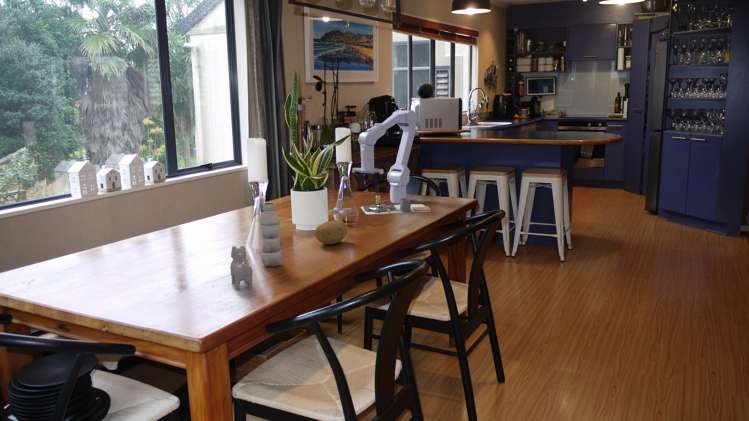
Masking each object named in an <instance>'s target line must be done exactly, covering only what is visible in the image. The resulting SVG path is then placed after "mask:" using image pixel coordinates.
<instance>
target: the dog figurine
mask: <svg viewBox="0 0 749 421" xmlns="http://www.w3.org/2000/svg"><path fill="white" fill-rule="evenodd" d="M245 247H246V246H244V245H240V246H239V247H237V246H236V245H235V246H231V251H230V252H231V253H230V257H231V258H232V261H231V263H230V268H229V269H230V277H231V284H233V285H235V289H234V290H235V291H240V287H241V285H240V284H241V282H242V281H243V282H245V283H248V287H247V289H253V287H254V286H253V268H252V266H251V265H250V262H249V261H248V259H247V252H246V248H245Z"/></svg>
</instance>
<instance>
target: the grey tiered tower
mask: <svg viewBox="0 0 749 421" xmlns="http://www.w3.org/2000/svg"><path fill="white" fill-rule="evenodd" d="M275 210H276V204H275V202H264V203H263V204H262V211H263V212H262V213H261V215H260V217H259V220H258V223H259V227H260V234H261V240H262V241H261V244H262V247H261V256H260V257H261V262H262V264H263V265H264V266H266V267H276V266H280V265H281V263H282V262H283V253H282V251H281V243H280V227H281V219H280V216H279V215H278V213H277V211H275Z"/></svg>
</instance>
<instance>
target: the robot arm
mask: <svg viewBox="0 0 749 421" xmlns="http://www.w3.org/2000/svg"><path fill="white" fill-rule="evenodd" d="M417 120H418V115H417V113H416V112H415V111H414V110H413V109H409V110H403V109H397V110H395V111H393V112H392V114H391V115H390V116H389V117H387V118H386V120H384V121H383V122H381V123H380V122H379V123H378V122H377V123H374V124H373V126H372V127H370V128H368V129H367V130H366V131H363V132H361V133H359V136H358V138H357V141H358V144H359V148H360V158H361V159H360V163H361V164H360V166H361V167H353V168H352V173H353V177H354V178H355V181H356V183H357V186H358V187H357V188H358V190H361V189H362V188H363V174H372V178H373V179H372V180H373V190H374V191H375V190H378V187H379V183H380V180H381V178H382V176H383V174H384V168H376V167H375V155H374V154H375V152H374V150H375V146H374V145H375V144H376V143H377V141H378V140H379V139H380V138H382V136H384V135H385V134H386V132H387V130H388V129H389V128H392V127H393V126H395V125H396V124H397V125H398V126H399V127H400V129H401V130H402V134H401V140H400V144H399V148H398V152H397V155H396V161H395V163H394V164H393V165H392V166H390V169H389V171H388V172H387V175H386V177H387V178H386V179H387V182H388V183H389V185H390V189H389V200H390V202H391V203H393V204H400V199H402V198H407V186H408V183H410V173H411V170H410V169H409V168H408V162H409V158H410V154H411V150H412V148H413V147H412V146H413V141H414V139H415V135H416V134H415V133H416V129H417V128H416V125H417V122H418V121H417Z"/></svg>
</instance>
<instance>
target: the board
mask: <svg viewBox="0 0 749 421" xmlns="http://www.w3.org/2000/svg"><path fill="white" fill-rule="evenodd" d="M394 205H395V207H396V211H393V210H391V211H390V212H388V213H387V212H379V213H375V212H371V211H370V212H365V210H364V206H360V209H361V210H362V211H363V213H364V214H365V215H383V214H387V215H388V214H401V213H403V214H406V213H408V212H402V211H401V210H400V204H394ZM425 212H426V213H427V212H432V209H431V208H430V207H429V206H425V205H424V204H423V203H417V204H416V203H415V204H414V203H413V204H412V203H411V212H410V213H425Z"/></svg>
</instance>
